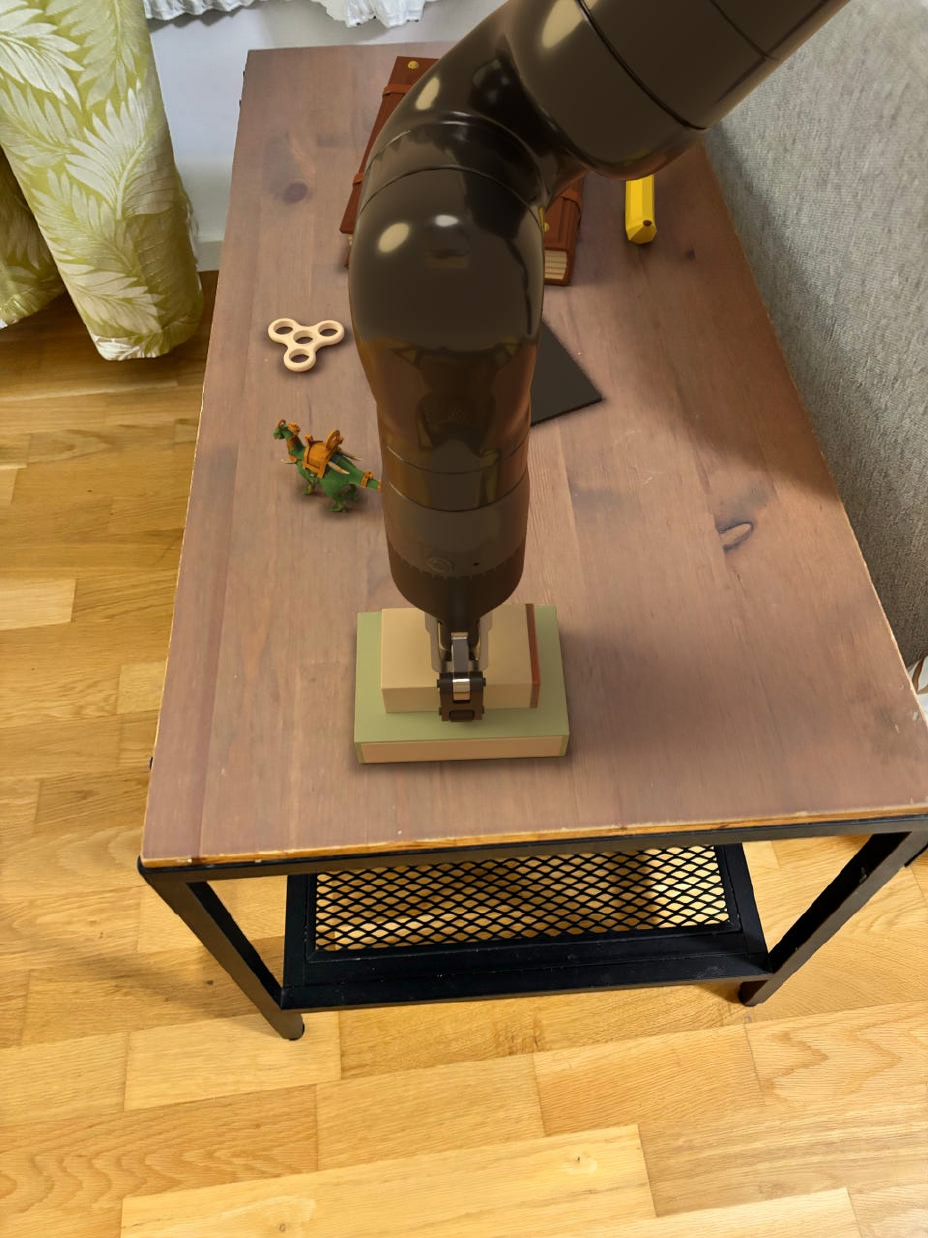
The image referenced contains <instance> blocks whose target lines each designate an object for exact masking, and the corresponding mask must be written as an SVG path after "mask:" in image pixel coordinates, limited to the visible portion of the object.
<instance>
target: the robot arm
mask: <svg viewBox="0 0 928 1238" xmlns="http://www.w3.org/2000/svg"><path fill="white" fill-rule="evenodd" d="M851 1H852V0H507V1H505V2H504V3H502V4H501V5H499V7H498V8H496V9H494V11H492V12H490V14H488V15H487V16H486V17H484V18H483V19H482V20H481V21H480V22H479V23H477V25H475V26H474V27H473V28H472V29H471V30H470V31H469V32H468V33H467V34H465V36H463V37H462V38H461V39H460V40H459V41H458V42H457V43H456V44H454V45H453V46H452V47H451V48H450V49H449V50H448V51H447V52H446V53H445V54H443V55H442V56H441V57H440V58H438V59H439V60H438V61H437V62H436V63H435V64H434V65H433V66H432V67H431V68H430V69H429V70H428V71H427V72H426V73H425V74H424V75H423V76H422V77H421V78H420V79H419V80H418V81H417V82H416V83H415V84H414V85H413V87H412V88H411V89H410V90H409V91H408V93H407V94H406V95H405V96H404V97H403V99H402V100H401V101H400V103H399V104H398V105H397V107H396V108H395V110H394V111H393V112H392V114H391V115H390V117H389V118H388V120H387V121H386V123H385V124H384V126H383V128H382V129H381V131H380V133H379V134H378V136H377V138H376V140H375V142H374V144H373V146H372V148H371V151H370V153H369V156H368V158H367V162H366V165H365V169H364V174H363V179H362V185H361V191H360V197H359V203H358V209H357V215H356V221H355V227H354V233H353V238H352V244H351V250H350V256H349V267H348V270H347V271H348V274H347V284H348V287H347V288H348V289H347V290H348V301H349V312H350V320H351V328H352V333H353V339H354V342H355V347H356V352H357V354H358V357H359V361H360V364H361V367H362V369H363V372H364V375H365V378H366V381H367V383H368V386H369V389H370V392H371V394H372V397H373V399H374V401H375V408H376V421H377V432H378V441H379V447H380V456H381V457H380V458H381V475H380V480H381V492H380V497H381V499H380V500H381V506H382V514H383V523H384V530H385V538H386V545H387V554H388V561H389V569H390V574H391V575H390V576H391V579H392V581H393V583H394V585H395V587H396V588H397V590H398V592H399V593H400V595H401V596H402V597H403V598H404V599H405V600H406V601H407V602H408V603H409V604H411V606H414V608H418V609H420V610H422V611H424V612H425V628H426V630H427V631H428V632H429V634H430V646H431V666H432V669H433V670H434V671H436V672H438V673H439V679H437V688H438V689H439V694H440V704H441V707H439V716H440V715H441V718H442V721H449V720H450V723H453V722H472V720H482V714H484V706H483V693H484V687H486V677H485V678H483V670H485V669H486V668H487V667H488V632H489V630H490V629H491V628H492V610H493V609H495V608H497V607H498V606H500V605H503V603H505V602H506V601H507V600H509V598H510V597H511V596H512V595H513V593H514V592H515V591H516V589H517V588H518V587H519V584H520V582H521V580H522V577H523V573H524V568H525V567H524V566H525V558H526V557H525V554H526V543H527V533H528V521H529V508H530V497H531V496H530V495H531V481H530V472H529V464H528V457H529V444H530V431H531V426H530V421H531V392H530V387H531V382H532V377H533V373H534V368H535V363H536V358H537V352H538V346H539V339H540V331H541V322H542V321H543V312H544V301H545V288H546V287H545V285H546V283H545V215H546V213H547V212H548V211H549V209H550V208H551V207H552V205H553V204H554V203H555V202H556V201H557V199H558V198H559V197H560V196H561V195H562V194H563V193H564V192H565V191H566V190H567V189H568V188H569V187H571V186H572V185H573V184H574V183H576V182H577V181H578V180H580V179H581V178H582V177H584V178H585V176H587V175H588V174H590V173H591V172H593V173H595V174H597V175H599V176H601V177H604V178H607V179H610V180H615V181H619V182H626V181H634V180H639V179H642V178H645V177H648V176H650V175H652V174H654V175H655V174H656V173H658V172H660V171H661V170H662V169H664V168H665V167H667V166H668V165H669V164H671V163H672V162H674V161H675V160H677V159H678V158H679V157H680V156H681V155H683V154H684V153H685V152H686V151H688V150H689V149H690V148H691V147H692V146H694V145H695V144H696V143H697V142H698V141H699V140H700V139H701V138H703V136H705V135H706V134H707V133H708V132H709V131H710V130H711V128H713V127H715V126H716V125H718V124H719V122H720V121H722V120H723V119H724V118H725V117H726V116H727V115H728V114H730V112H731V111H732V110H734V108H736V107H737V106H738V105H739V104H740V103H742V102H743V100H744V99H745V98H747V97H748V96H749V95H750V94H752V92H753V91H755V89H757V88H758V87H759V86H760V85H761V84H762V83H763V82H764V81H766V80H767V79H768V78H769V77H770V76H771V75H772V74H773V73H774V72H775V71H776V70H778V68H780V67H781V66H782V65H783V64H784V63H785V62H786V61H787V60H788V59H789V58H791V56H793V54H795V53H796V52H797V51H798V50H799V49H800V48H801V47H802V46H804V45H805V43H807V42H808V41H809V40H810V39H811V38H812V37H813V36H814V35H815V34H816V33H817V32H818V31H819V30H821V29H822V28H824V26H825V25H826V24H828V22H829V21H830V20H832V19H833V18H834V17H835V16H836V14H838V13H839V12H840V11H841V10H843V9H844V8H845V6H847V5H848V4H849V3H850V2H851ZM438 623H439V627H440V643H441V646H442V647H443V648H444V649H445V650H444V649H442V648H441V647H440V645H439V627H438ZM478 643H479V645H478ZM477 645H478V646H477ZM451 671H453V672H451Z"/></svg>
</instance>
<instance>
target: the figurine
mask: <svg viewBox="0 0 928 1238" xmlns="http://www.w3.org/2000/svg"><path fill="white" fill-rule="evenodd" d="M301 431H302V430H301V428H300V425H298V424H296V423H295V422H291V423H289V422H288V423H287V421H286V419H284V418H281V419H279V420H278V422H277V424H276V427H275V429H274V431H273V434H272V437H273V439H274V440H275V441H276V440H279V441H280V440H284V439H285V441H286V443H285V445H286V447H287V452H286V453H287V456H288V457H289V459H288V460H284V459H282V458H280V460H281V462H282V463H283V464H286V465H296V468H297V472H298V473H299V475H300V477H302V478H303V479H304V481H306V482H308V484H309V485H308V487H305V488H304V491H303V492H302V494H303V495H310V494H313V492H315V489H316V485H320V486H321V488H322V490H323V492H324V493H325V494H326V496H327V497H329V498H330V499H332V501H334V502H335V504H332V505H331V508H329V510H330V511H331V512H340V511H342V512H343V513H347V509H346V508H345V504H346V503H347V501H346V500H345V498H348V499H353V500H354V502H355V501H358V497H357V496H356V493H357V491H358V490H359V487H358V486H360V488H364V489H372V490H376V491H378V492H380V493H381V479H380V480H376V479H375V478H374V477H375V474H374V473H373V472H372V471H370V470H369V469H366V471H365V472H364V471H362V470H359V468H357V465H355V464H354V463H353V462H352V460H353V461H357V462H358V461H359V462H360V461H363V460H364V459H363V458H359V457H356V456H355V455H353V454H351V453H350V452H348V451H345V449H343V448H342V447H340V446H341V445H342V444H343V442H344V440H345V437H343V436H341V431H340V429H334V430H332V431H331V432H330V433H329V434H328V436H327V438H326V440H325V442H324V440H321V439H314V437H313V435H311V434H307V433H306V434H305V435H304V436H303V438H304V440H305V443H306V445H304V444H303V442H302V440H301V439H300V437H299V435H300V432H301ZM346 486H349V487H350V489H347V490H345V491H344V489H345V488H346ZM342 491H344V494H342V495H341V492H342Z"/></svg>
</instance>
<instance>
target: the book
mask: <svg viewBox="0 0 928 1238" xmlns="http://www.w3.org/2000/svg"><path fill="white" fill-rule="evenodd" d="M439 59H440V58H434V57H433V58H432V57H419V56H403V55H397V56H396V58H395V61H394V65H393V67H392V69H391V73H390V76H389V79H388V82H387V86H384V88H383V91H382V93H381V98H382V99H381V103H380V107H379V109H378V112H377V115H376V118H375V121H374V124H373V127H372V130H371V133H370V136H369V139H368V142H367V145H366V148H365V151H364V154H363V156H362V160H361V163H360V165H359V169H358V171H357V173H355V175H354V177H353V180H352V183H351V185H352V186H351V187H352V190H351V193H350V196H349V200H348V201H347V204H346V206H345V211H344V214H343V217H342V219H341V223H340V226H339V231H340V233H341V234H343V235H347V240H348V241H349V249H348V252H347V256H346V259H345V262H344V267H348V268H349V256H350V250H351V244H352V238H353V233H354V227H355V221H356V215H357V209H358V203H359V197H360V191H361V185H362V179H363V174H364V169H365V165H366V162H367V158H368V156H369V153H370V151H371V148H372V146H373V144H374V142H375V140H376V138H377V136H378V134H379V133H380V131H381V129H382V128H383V126H384V124H385V123H386V121H387V120H388V118H389V117H390V115H391V114H392V112H393V111H394V110H395V108H396V107H397V105H398V104H399V103H400V101H401V100H402V99H403V97H404V96H405V95H406V94H407V93H408V91H409V90H410V89H411V88H412V87H413V85H414V84H415V83H416V82H417V81H418V80H419V79H420V78H421V77H422V76H423V75H424V74H425V73H426V72H427V71H428V70H429V69H430V68H431V67H432V66H433V65H434V64H435V63H436V62H437V61H438V60H439ZM584 178H585V176H584V177H582V178H581V179H580V180H578V181H577V182H576V183H574V184H573V185H572V186H571V187H569V188H568V189H567V190H566V191H565V192H564V193H563V194H562V195H561V196H560V197H559V198H558V199H557V201H556V202H555V203H554V204H553V205H552V207H551V208H550V209H549V211H548V212H547V213H546V215H545V284H549V285H566V284H567V283H568V282H569V280H570V279H571V278H572V275H573V272H574V265H575V256H576V248H577V238H578V232H579V231H580V228H581V225H582V216H583V201H582V195H583V185H584Z"/></svg>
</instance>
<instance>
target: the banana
mask: <svg viewBox="0 0 928 1238" xmlns="http://www.w3.org/2000/svg"><path fill="white" fill-rule="evenodd" d="M624 212H625V216H624V217H625V220H624V221H625V231H626V234H627V238H628V241H631V242H632V243H635V244H638V245H641V244H642V245H643V244H645V243H649V242H652V241H653V239H654V237H655V236H656V234H657V232H658V230H657V226H656V221H655V219H656V218H655V173H654V174H652V175H650V176H648V177H645V178H642V179H639V180H634V181H625V211H624Z"/></svg>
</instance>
